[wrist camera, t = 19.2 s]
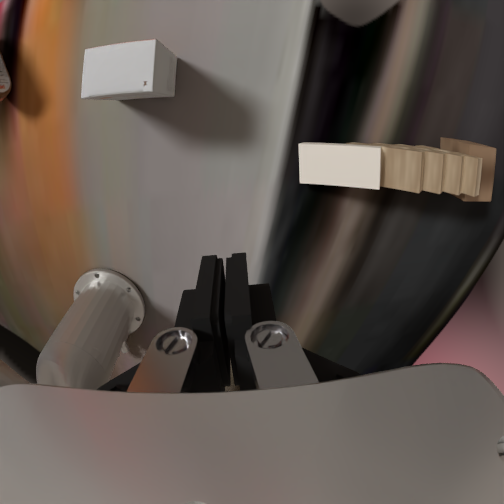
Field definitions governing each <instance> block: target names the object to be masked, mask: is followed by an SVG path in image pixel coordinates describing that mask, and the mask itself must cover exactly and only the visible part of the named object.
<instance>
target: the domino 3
mask: <svg viewBox="0 0 504 504" xmlns="http://www.w3.org/2000/svg"><path fill="white" fill-rule="evenodd" d="M372 144H375V145H384V146H392V147H400V148H408V149H415V150H421V151H424V169H423V184H422V190H423V191H428V192H432V193H437V194H441V193H442V192H443V185H444V174H445V159H446V153H442V152H437V151H431V150H425V149H418V148H412V147H405V146H398V145H390V144H382V143H372Z"/></svg>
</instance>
